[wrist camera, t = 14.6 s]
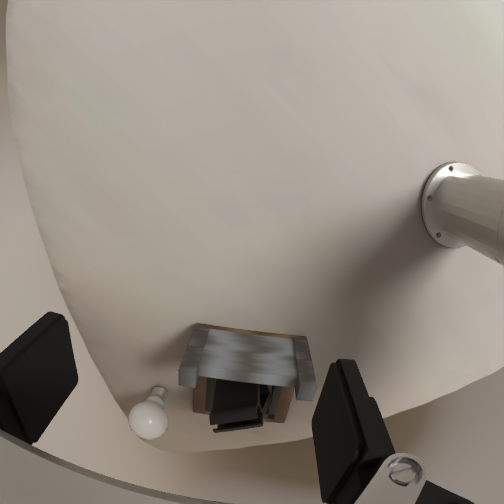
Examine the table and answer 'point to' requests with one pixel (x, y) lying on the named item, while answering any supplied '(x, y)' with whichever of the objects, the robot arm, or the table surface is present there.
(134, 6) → the table surface
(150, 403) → the lightbulb
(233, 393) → the phone stand
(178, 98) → the table surface
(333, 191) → the table surface
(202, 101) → the table surface
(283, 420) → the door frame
